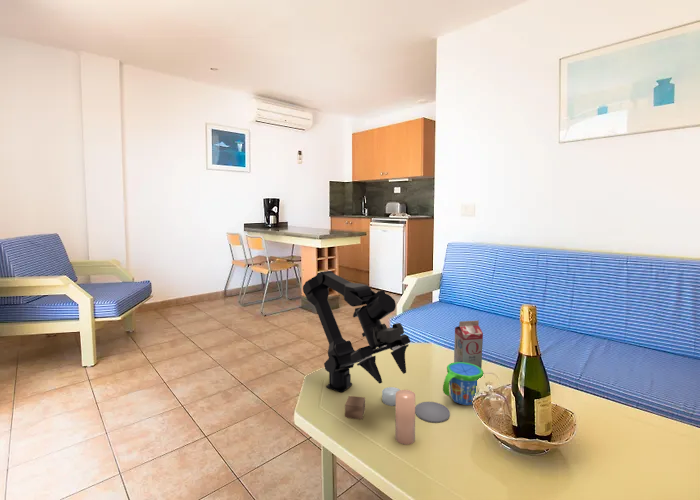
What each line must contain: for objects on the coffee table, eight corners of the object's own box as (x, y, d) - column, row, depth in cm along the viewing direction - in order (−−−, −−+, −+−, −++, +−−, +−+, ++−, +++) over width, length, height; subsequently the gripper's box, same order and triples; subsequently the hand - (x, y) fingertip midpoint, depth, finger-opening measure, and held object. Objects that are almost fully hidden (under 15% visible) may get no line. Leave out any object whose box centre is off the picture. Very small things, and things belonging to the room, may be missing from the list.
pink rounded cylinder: (392, 440, 92) (392, 396, 91) (400, 430, 97) (400, 387, 95) (410, 446, 90) (410, 401, 88) (417, 436, 94) (418, 392, 93)
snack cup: (472, 387, 119) (473, 358, 118) (495, 403, 110) (497, 371, 109) (432, 396, 114) (433, 365, 112) (454, 413, 104) (455, 380, 103)
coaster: (409, 415, 103) (409, 414, 103) (422, 400, 112) (422, 398, 112) (443, 426, 98) (443, 424, 98) (454, 409, 106) (454, 407, 106)
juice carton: (480, 387, 119) (483, 323, 116) (461, 388, 118) (463, 324, 115) (471, 377, 126) (473, 317, 123) (453, 378, 125) (455, 318, 122)
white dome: (378, 402, 111) (378, 393, 110) (387, 394, 116) (387, 385, 115) (396, 408, 108) (396, 398, 107) (404, 399, 113) (404, 390, 112)
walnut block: (345, 417, 103) (345, 404, 102) (348, 408, 108) (348, 395, 107) (362, 419, 102) (362, 406, 101) (365, 410, 107) (365, 397, 106)
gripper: (361, 321, 94) (384, 380, 88) (410, 309, 105) (434, 360, 99) (341, 336, 101) (361, 391, 96) (388, 322, 113) (409, 371, 107)
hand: (393, 378), depth 99 cm, fingers open, 9 cm apart
